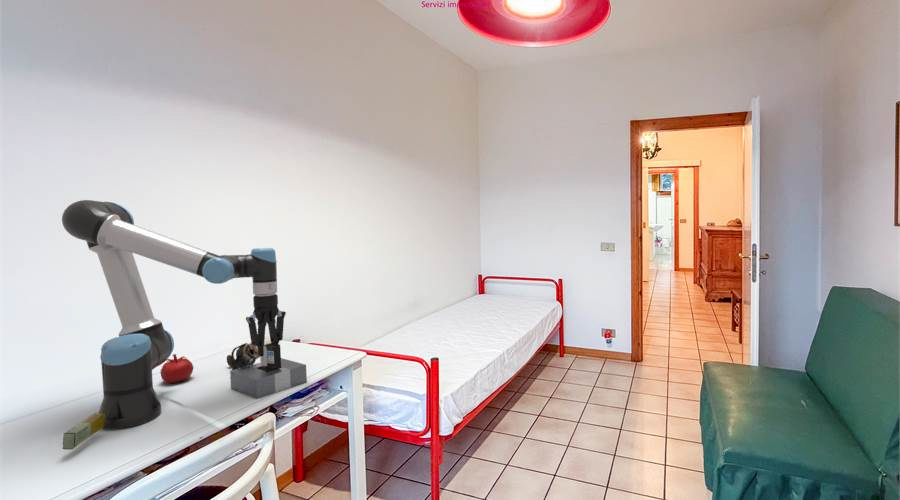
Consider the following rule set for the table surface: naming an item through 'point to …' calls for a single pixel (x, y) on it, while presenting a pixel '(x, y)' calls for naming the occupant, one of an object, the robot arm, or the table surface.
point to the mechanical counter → (242, 352)
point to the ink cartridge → (273, 356)
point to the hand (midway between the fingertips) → (268, 364)
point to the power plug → (244, 361)
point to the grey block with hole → (267, 378)
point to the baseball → (265, 342)
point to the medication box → (83, 431)
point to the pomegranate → (176, 369)
